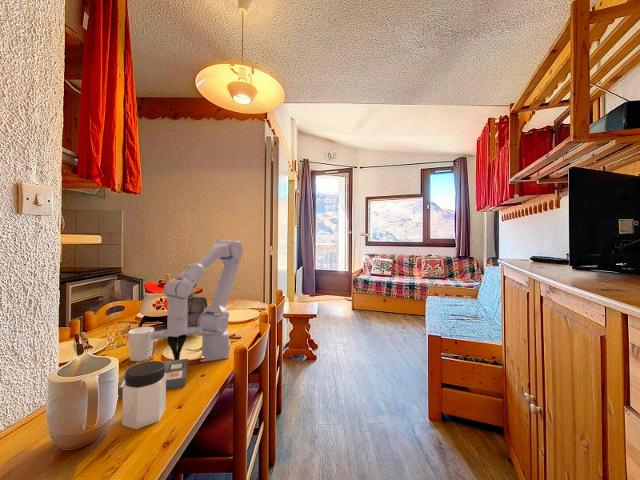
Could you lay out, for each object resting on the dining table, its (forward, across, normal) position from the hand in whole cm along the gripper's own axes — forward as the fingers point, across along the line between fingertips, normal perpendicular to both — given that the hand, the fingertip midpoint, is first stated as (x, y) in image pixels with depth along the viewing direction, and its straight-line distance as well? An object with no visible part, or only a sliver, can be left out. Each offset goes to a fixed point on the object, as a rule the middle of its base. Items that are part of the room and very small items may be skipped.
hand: (177, 358), depth 87 cm
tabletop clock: (+5, +1, +37) cm, 37 cm away
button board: (+5, -6, -2) cm, 8 cm away
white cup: (+5, -13, +18) cm, 23 cm away
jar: (+5, -5, -21) cm, 22 cm away
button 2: (+4, 0, 0) cm, 5 cm away
